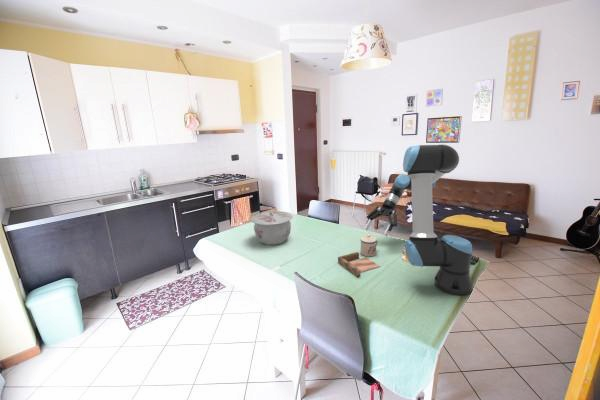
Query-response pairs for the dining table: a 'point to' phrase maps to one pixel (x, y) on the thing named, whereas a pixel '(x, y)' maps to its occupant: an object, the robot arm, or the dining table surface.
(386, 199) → the robot arm
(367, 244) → the teacup with lid
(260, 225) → the chamber pot
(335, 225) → the dining table surface
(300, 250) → the dining table surface
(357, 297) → the dining table surface
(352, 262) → the low wooden tray
